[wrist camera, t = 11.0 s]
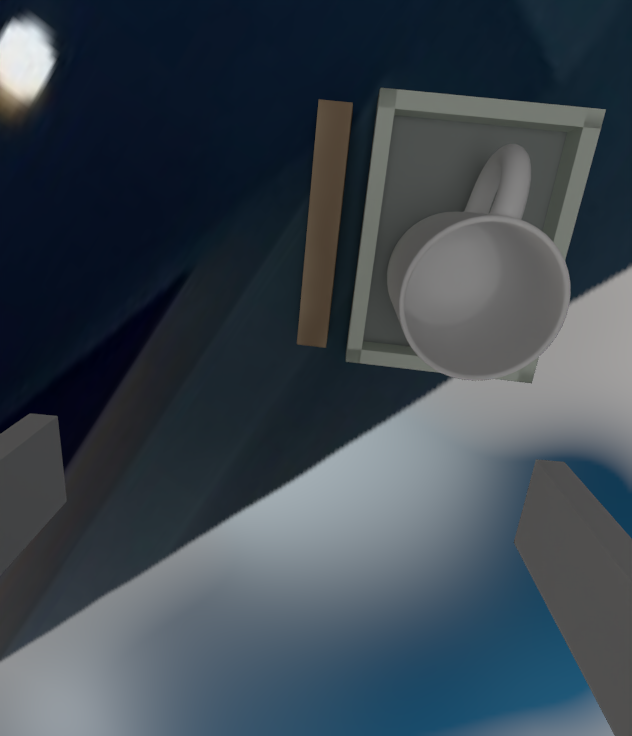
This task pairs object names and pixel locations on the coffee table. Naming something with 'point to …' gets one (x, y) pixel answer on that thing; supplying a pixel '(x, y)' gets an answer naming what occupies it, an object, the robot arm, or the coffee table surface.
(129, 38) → the coffee table surface
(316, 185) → the edge rail
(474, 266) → the mug
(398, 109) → the frame
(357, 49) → the coffee table surface
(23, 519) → the robot arm
